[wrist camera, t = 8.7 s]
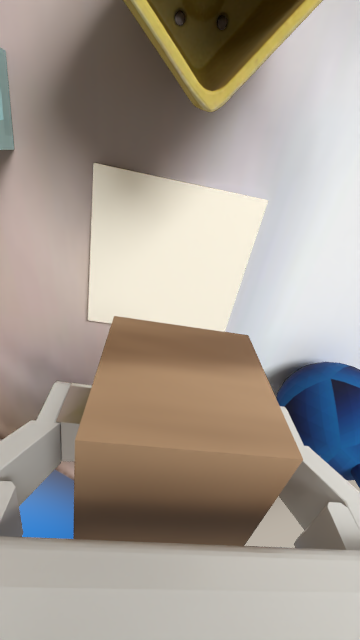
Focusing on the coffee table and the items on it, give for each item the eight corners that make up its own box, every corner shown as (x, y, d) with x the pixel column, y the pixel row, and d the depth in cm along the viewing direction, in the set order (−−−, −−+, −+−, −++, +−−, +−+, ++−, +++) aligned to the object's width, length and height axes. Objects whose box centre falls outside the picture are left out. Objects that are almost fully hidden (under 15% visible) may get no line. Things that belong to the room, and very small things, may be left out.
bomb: (304, 426, 33) (389, 599, 21) (242, 384, 29) (301, 566, 17) (379, 378, 30) (540, 551, 17) (321, 323, 26) (474, 494, 13)
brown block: (114, 315, 10) (74, 440, 6) (248, 335, 11) (303, 459, 6) (105, 415, 13) (73, 552, 8) (213, 426, 13) (235, 558, 9)
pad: (94, 162, 18) (93, 163, 18) (266, 199, 20) (268, 200, 20) (88, 317, 24) (87, 320, 24) (221, 336, 26) (222, 339, 26)
